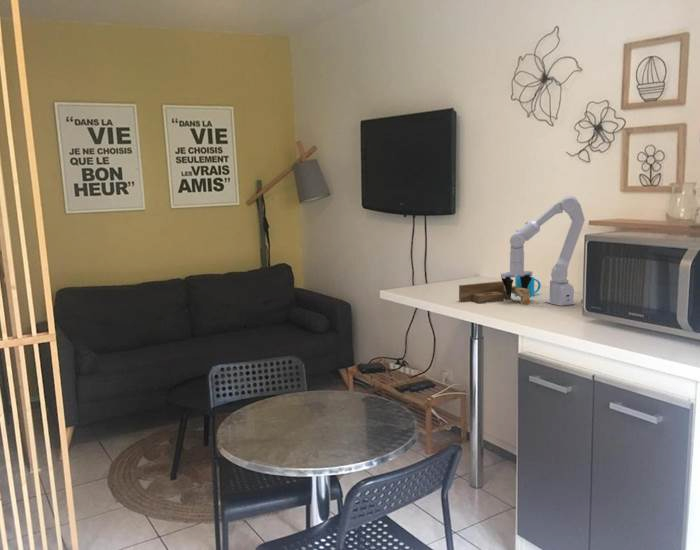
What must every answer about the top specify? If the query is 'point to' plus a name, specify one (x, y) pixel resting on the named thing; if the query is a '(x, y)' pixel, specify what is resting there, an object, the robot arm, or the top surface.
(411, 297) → the top surface
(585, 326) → the top surface
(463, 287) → the stepped wooden block
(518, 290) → the rail
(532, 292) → the mug
